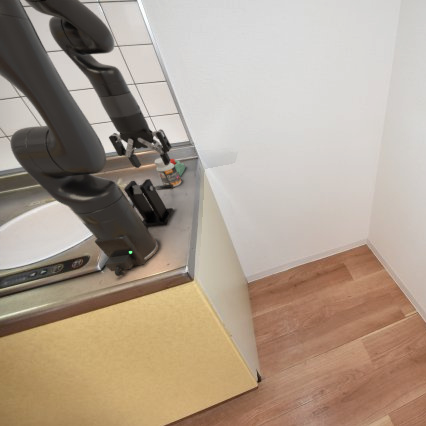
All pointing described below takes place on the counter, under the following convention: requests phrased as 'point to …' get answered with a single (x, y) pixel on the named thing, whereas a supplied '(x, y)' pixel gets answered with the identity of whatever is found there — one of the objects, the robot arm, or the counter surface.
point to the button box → (179, 167)
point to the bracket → (150, 215)
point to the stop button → (172, 161)
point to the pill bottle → (167, 173)
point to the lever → (138, 191)
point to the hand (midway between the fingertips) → (153, 165)
